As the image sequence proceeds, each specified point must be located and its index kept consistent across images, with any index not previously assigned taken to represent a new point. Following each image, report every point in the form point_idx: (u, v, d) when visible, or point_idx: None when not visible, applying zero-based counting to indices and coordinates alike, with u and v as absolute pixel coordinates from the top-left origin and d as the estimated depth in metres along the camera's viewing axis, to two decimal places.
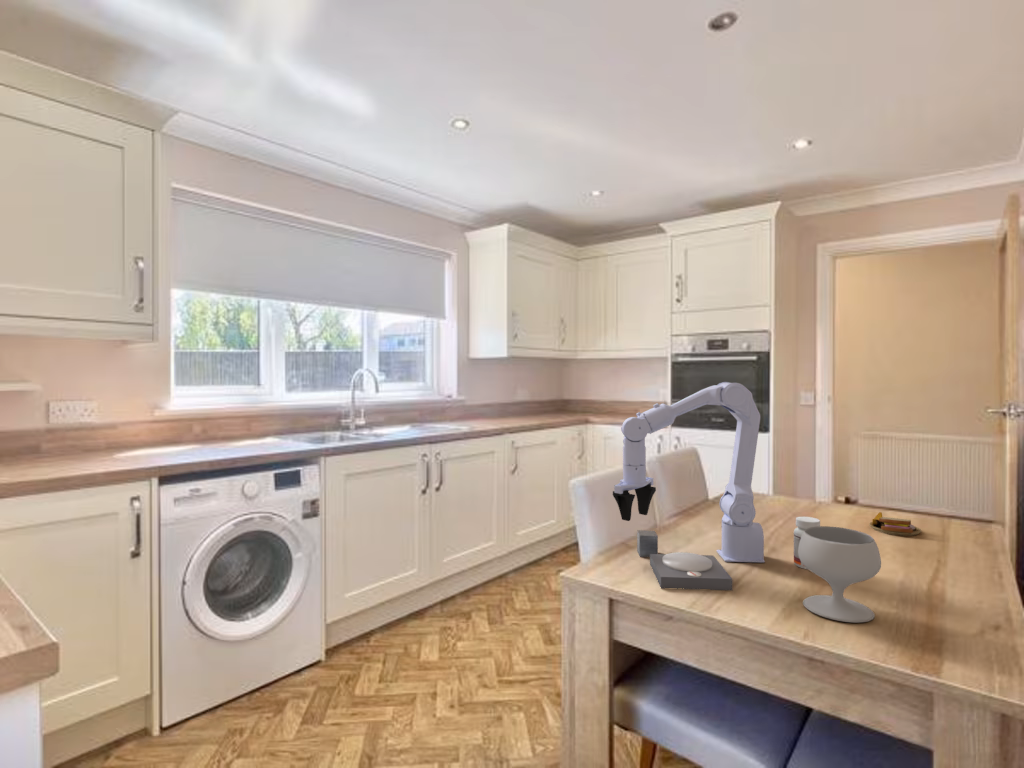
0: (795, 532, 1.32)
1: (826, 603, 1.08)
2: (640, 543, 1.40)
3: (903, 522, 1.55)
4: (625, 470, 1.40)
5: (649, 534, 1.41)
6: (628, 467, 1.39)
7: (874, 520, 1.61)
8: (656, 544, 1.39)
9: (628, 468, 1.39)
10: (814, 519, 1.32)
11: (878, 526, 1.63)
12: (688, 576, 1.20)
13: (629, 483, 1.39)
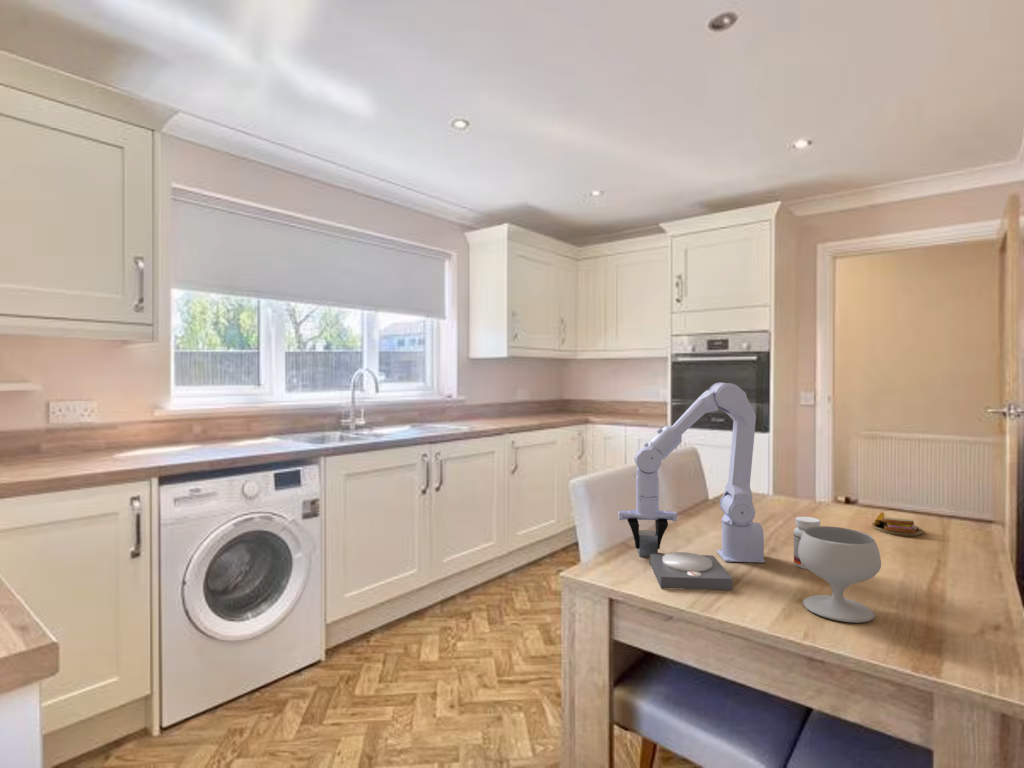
0: (795, 532, 1.32)
1: (826, 603, 1.08)
2: (640, 543, 1.40)
3: (906, 522, 1.55)
4: None
5: (649, 534, 1.41)
6: (636, 496, 1.42)
7: (877, 520, 1.61)
8: (656, 544, 1.39)
9: (636, 497, 1.42)
10: (814, 519, 1.32)
11: (880, 526, 1.63)
12: (688, 576, 1.20)
13: (636, 512, 1.41)
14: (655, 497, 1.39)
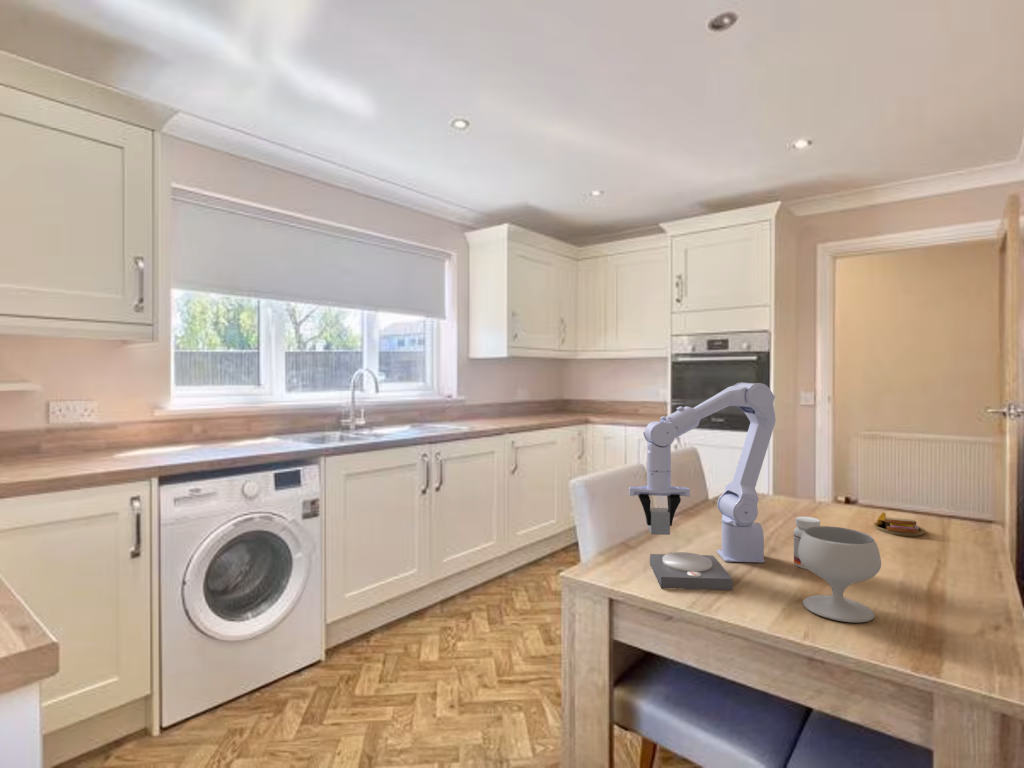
0: (795, 532, 1.32)
1: (826, 603, 1.08)
2: (652, 520, 1.35)
3: (909, 522, 1.54)
4: None
5: (661, 511, 1.36)
6: (647, 471, 1.37)
7: (879, 521, 1.61)
8: (668, 521, 1.35)
9: (647, 472, 1.37)
10: (814, 519, 1.32)
11: (882, 526, 1.62)
12: (688, 576, 1.20)
13: (647, 488, 1.37)
14: (667, 472, 1.35)
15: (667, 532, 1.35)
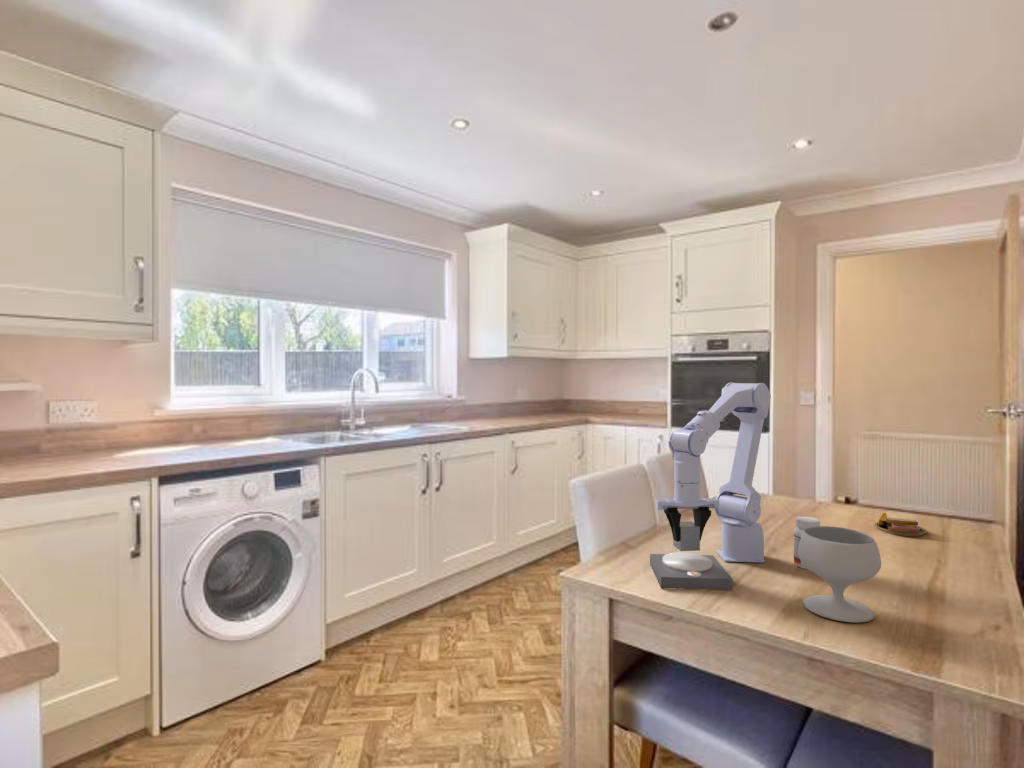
0: (795, 532, 1.32)
1: (826, 603, 1.08)
2: (681, 535, 1.26)
3: (910, 523, 1.54)
4: (674, 486, 1.28)
5: (689, 525, 1.27)
6: (675, 483, 1.27)
7: (880, 521, 1.60)
8: (698, 536, 1.26)
9: (675, 484, 1.27)
10: (814, 519, 1.32)
11: (884, 527, 1.62)
12: (688, 576, 1.20)
13: (675, 501, 1.27)
14: (698, 483, 1.25)
15: (697, 548, 1.26)
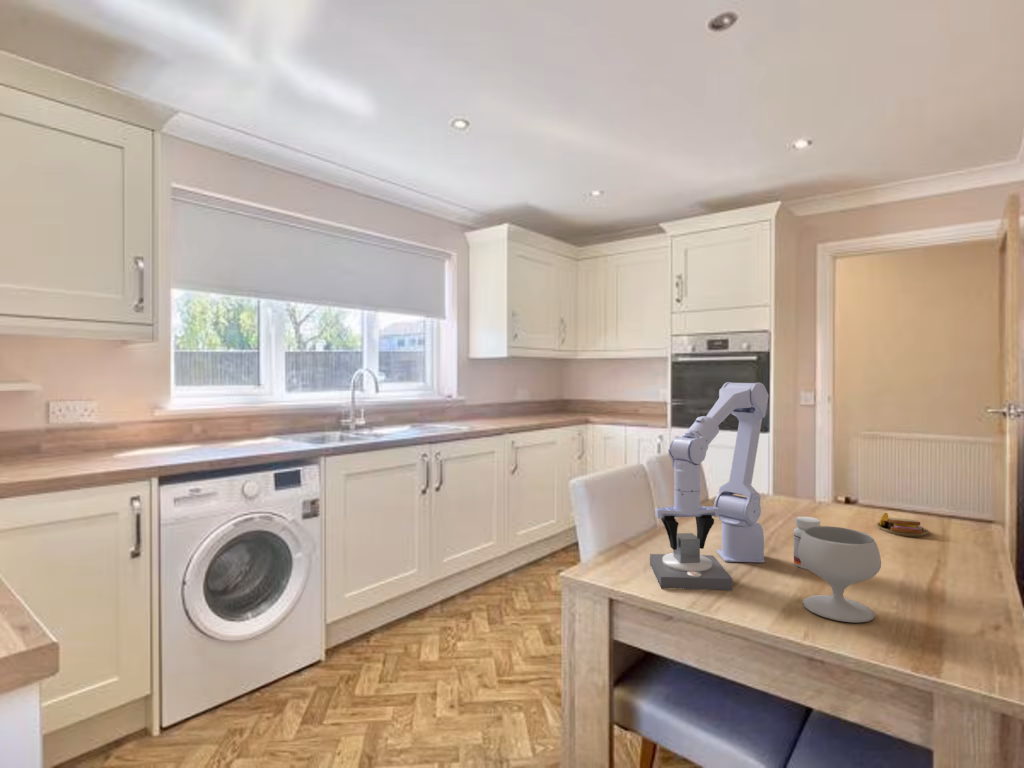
0: (795, 532, 1.32)
1: (826, 603, 1.08)
2: (681, 548, 1.26)
3: (913, 523, 1.54)
4: (674, 494, 1.28)
5: (690, 537, 1.27)
6: (675, 491, 1.27)
7: (882, 521, 1.60)
8: (698, 548, 1.26)
9: (675, 492, 1.27)
10: (814, 519, 1.32)
11: (885, 527, 1.62)
12: (688, 576, 1.20)
13: (675, 509, 1.27)
14: (698, 491, 1.25)
15: (697, 560, 1.26)
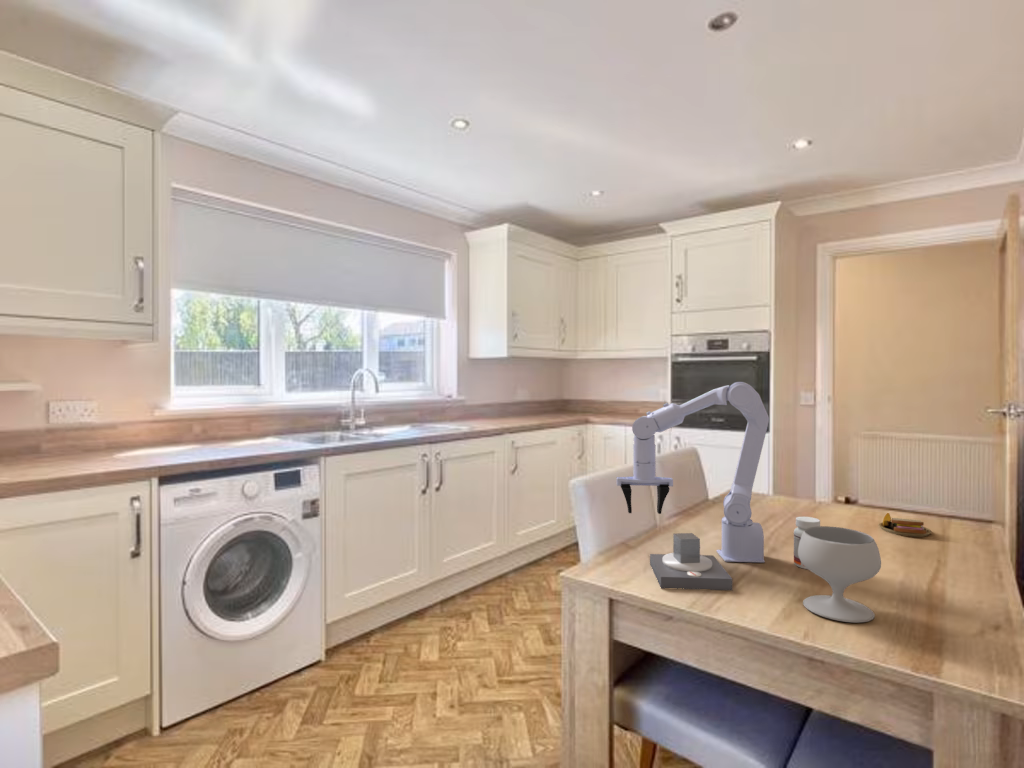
0: (795, 532, 1.32)
1: (826, 603, 1.08)
2: (681, 548, 1.26)
3: (916, 523, 1.54)
4: None
5: (689, 537, 1.27)
6: (633, 463, 1.46)
7: (885, 521, 1.60)
8: (698, 548, 1.26)
9: (633, 463, 1.46)
10: (814, 519, 1.32)
11: (888, 527, 1.62)
12: (688, 576, 1.20)
13: (633, 478, 1.46)
14: (652, 463, 1.44)
15: (697, 560, 1.26)
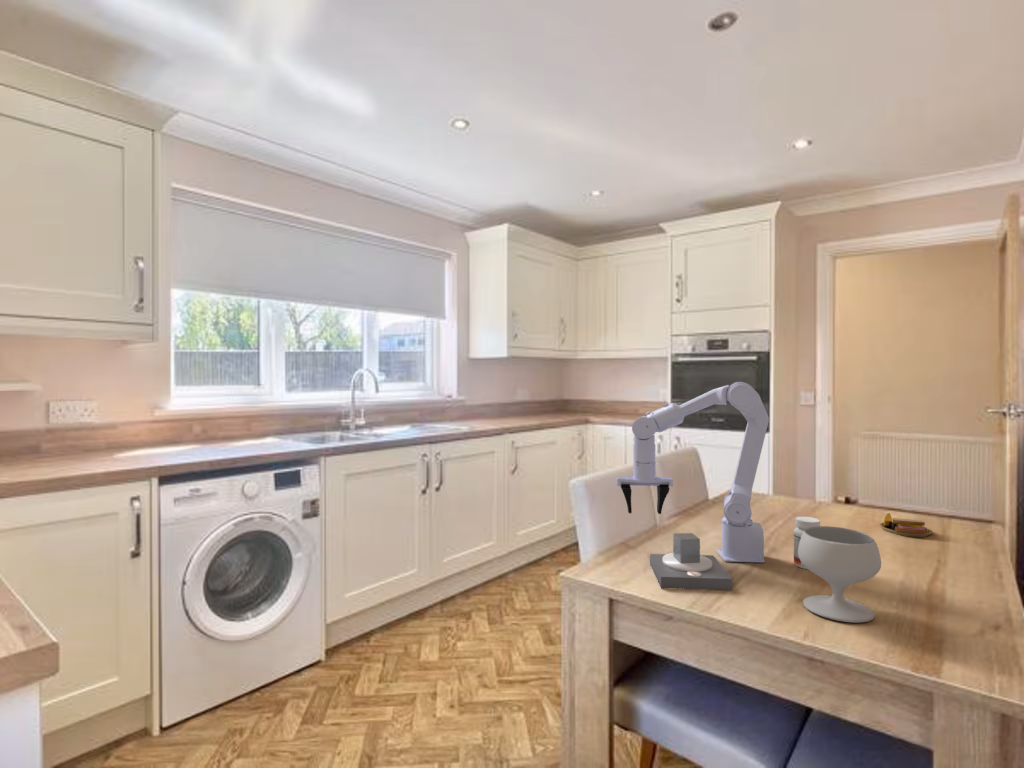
0: (795, 532, 1.32)
1: (826, 603, 1.08)
2: (681, 548, 1.26)
3: (917, 523, 1.54)
4: None
5: (690, 537, 1.27)
6: (633, 463, 1.46)
7: (886, 521, 1.60)
8: (698, 548, 1.26)
9: (633, 464, 1.47)
10: (814, 519, 1.32)
11: (889, 527, 1.62)
12: (688, 576, 1.20)
13: (633, 478, 1.46)
14: (652, 463, 1.44)
15: (697, 560, 1.26)
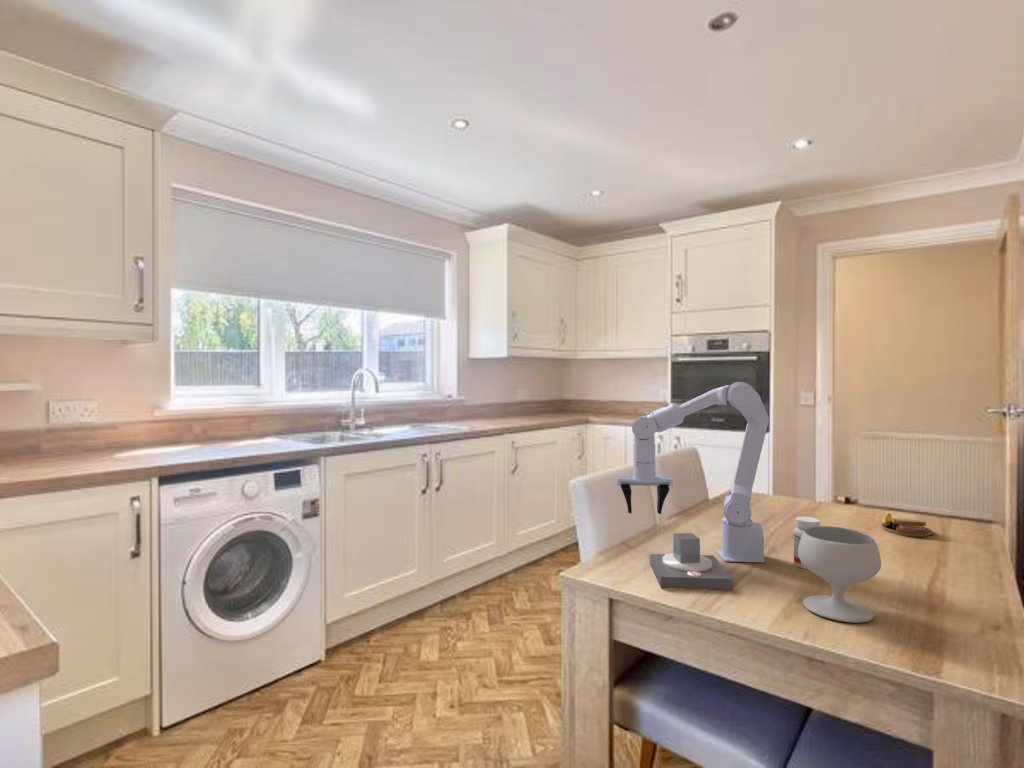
0: (795, 532, 1.32)
1: (826, 603, 1.08)
2: (681, 548, 1.26)
3: (919, 523, 1.54)
4: None
5: (690, 537, 1.27)
6: (633, 463, 1.46)
7: (887, 522, 1.60)
8: (698, 548, 1.26)
9: (633, 464, 1.47)
10: (814, 519, 1.32)
11: (890, 527, 1.61)
12: (688, 576, 1.20)
13: (633, 478, 1.46)
14: (652, 463, 1.44)
15: (697, 560, 1.26)
